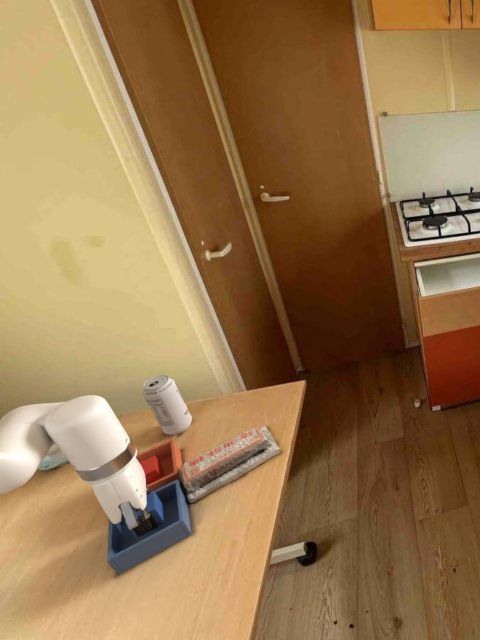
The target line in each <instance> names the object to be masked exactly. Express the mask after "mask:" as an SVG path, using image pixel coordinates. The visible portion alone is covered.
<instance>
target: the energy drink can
mask: <svg viewBox="0 0 480 640" xmlns="http://www.w3.org/2000/svg"><path fill="white" fill-rule="evenodd" d="M142 389H143V391H142V395H143V397H144V399H145V402H146V403H147V405H148V406H149V409H150V410H151V412H152V414H153V416H154V417H155V420H156V421H157V423H158V425H159V427H160V428H161V430H162V433H164V434H166V435H169V436H174V435H175V436H176V435H178V434H181V433H183V432H185V431H186V430H187V429H189V428H190V426H191V423H192V421H193V417H192V414H191V413H190V410H189V408H188V406H187V404H186V402H185V400H184V399H183V397H182V394H181V393H180V390H179V389H178V386H177V384H176V382H175V380H174V379H172V378H170V377H169V376H168V375H167V374H161V375H160V374H159V375H156V376H154V377H152V378H150V379H148V380H147V381H145V382H144V384H143V385H142Z"/></svg>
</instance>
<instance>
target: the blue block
mask: <svg viewBox="0 0 480 640" xmlns="http://www.w3.org/2000/svg"><path fill="white" fill-rule="evenodd" d="M146 496H147V505H146V509H147V511H148V512H149V513H150V512H152V514H153V516H154V517H155V519H156V520H157V522H158V523H159V525H161V524H162V523H164V511H163V504H162V503H161V501H160V500H159V498H158V496H157V495H156V493H155V492H152V493H150V494H148V495H146ZM135 514H136V516H137V517H138V516H139V515H141V514H142V512H141V510H139V511H137V512H135ZM125 524H126V526H127V523H126V520H125ZM127 527H128V526H127ZM130 531H131V533H132V534H133V535H134V537H135V538H136V537H138V536H137V535H136V533H135V532H134V531H133V529H131V530H130Z"/></svg>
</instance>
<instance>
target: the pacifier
mask: <svg viewBox="0 0 480 640" xmlns="http://www.w3.org/2000/svg"><path fill="white" fill-rule="evenodd" d="M66 463H69V461H68V460H67V458H66V457H65V456H64V454H63V453H62V452H61V450H60V449H59V448H58V446H57V445H56V444H54V445H53V446H52V447H51V448H50V449H49V450H48V452H47V454H46V455H45V457H44V459H43V460H42V462H41V464H40V465H39V467H38V468H37V471H47V470H52V469H55V468H58V467H61V466H63V465H64V464H66Z"/></svg>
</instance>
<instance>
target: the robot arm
mask: <svg viewBox="0 0 480 640" xmlns="http://www.w3.org/2000/svg"><path fill="white" fill-rule="evenodd" d="M54 444H56V445H57V446H58V448H59V449H60V450H61V452H62V453H63V454H64V456H65V457H66V458H67V460H68V463H69V464H70V465H71V467H72V468H73V470H74V471H76V474H77V475H78V476H79V478H80V479H81V480H82V481H83V482H84V483H85V484H90V485H91V488H92V491H93V493H94V495H95V497H96V499H97V501H98V503H99V505H100V507H101V508H102V510H103V512H104V513H105V515H106V516H107V518H108V520H109V519H110V521H111V522H112V523H113V524H117V523H119V522H121V516H122V513H123V515H124V518H125V520H126V523H127V526H128V528H129V530H131V529H133V531H134V532H135V533H136V535H137V536H138V537H141V536H143V535H145V534H146V533H148V532H150V531H152V530H154V529H156V528H158V527H159V523H158V522H157V520H156V519H155V517H154V516H153V514H152V512H150V513H149V512H148V511H147V509H146V505H147V496H146V495H148V494H150V493H151V492H148V487H147V486H146V478H145V473H144V470H143V468H142V466H141V465H140V463H139V462H138V460H137V459H136V455H137V454H138V448H136V445H135V444H134V443H133V441H132V439H131V438H130V436H129V435H128V434H127V431H126V430H125V428H124V427H123V425H122V423H121V422H120V420H119V419H118V417H117V415H116V414H115V412H114V411H113V409H112V407H111V406H110V404H109V402H108V401H107V400H106V399H105V398H104V397H102V396H101V395H95V394H88V395H87V394H86V395H82V396H78V397H74V398H72V399H70V400H67V401H60V402H47V403H46V402H45V403H35V404H34V403H33V404H26V405H22V406H18V407H16V408H14V409H12V410H10V411H8V412H6V414H4V415H3V416H2V417H1V418H0V495H5V494H7V493H10V492H13V491H16V490H18V489H19V488H21V487H22V486H24V485H25V484H26V483H28V482H29V480H31V478H32V477H33V476H34V475H35V473H36V471H38V469H37V468H38V467H39V465H40V464H41V462H42V460H43V459H44V457H46V456H47V455H46V454H47V452H48V450H49V449H50V448H51V447H52V446H53V445H54ZM146 492H148V493H146ZM139 510H141V512H142V514H141V515H139V516H138V517H137V516H136V514H135V512H137V511H139Z"/></svg>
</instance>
